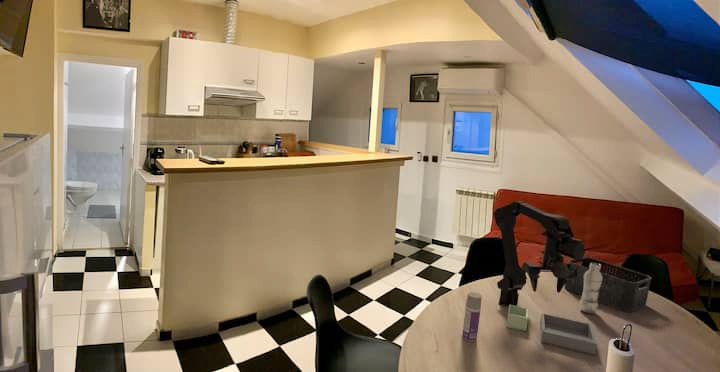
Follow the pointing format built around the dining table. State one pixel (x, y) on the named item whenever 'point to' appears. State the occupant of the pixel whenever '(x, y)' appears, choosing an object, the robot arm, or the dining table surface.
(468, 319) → the container
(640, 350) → the dining table surface
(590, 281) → the plastic bottle
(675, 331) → the dining table surface
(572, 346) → the large crate
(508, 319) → the small crate
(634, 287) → the storage bin
